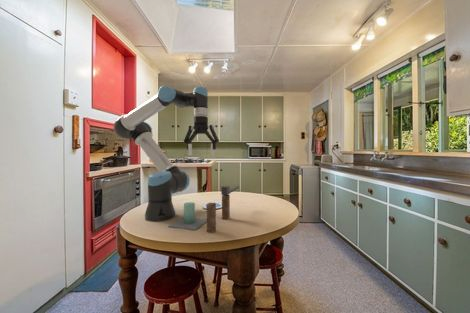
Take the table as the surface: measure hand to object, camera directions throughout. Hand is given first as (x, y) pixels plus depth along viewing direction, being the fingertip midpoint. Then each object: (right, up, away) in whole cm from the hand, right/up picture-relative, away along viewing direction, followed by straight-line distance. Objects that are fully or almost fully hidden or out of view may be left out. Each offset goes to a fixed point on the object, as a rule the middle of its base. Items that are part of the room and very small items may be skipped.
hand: (201, 155), depth 121 cm
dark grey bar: (+17, -19, 0) cm, 25 cm away
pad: (-3, -32, -16) cm, 36 cm away
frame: (+11, -32, -17) cm, 38 cm away
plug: (-3, -32, -16) cm, 36 cm away
